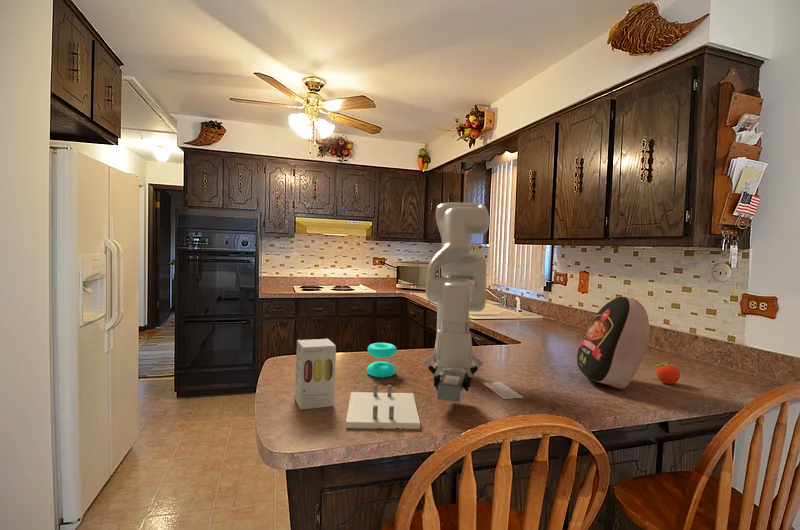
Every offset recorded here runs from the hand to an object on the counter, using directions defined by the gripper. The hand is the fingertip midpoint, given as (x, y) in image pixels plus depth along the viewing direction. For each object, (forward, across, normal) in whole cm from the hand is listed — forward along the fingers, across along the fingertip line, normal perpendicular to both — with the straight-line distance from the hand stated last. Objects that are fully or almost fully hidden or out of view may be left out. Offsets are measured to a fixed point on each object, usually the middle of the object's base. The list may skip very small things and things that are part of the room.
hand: (451, 388), depth 114 cm
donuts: (+6, +19, -28) cm, 34 cm away
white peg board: (+5, +19, +4) cm, 20 cm away
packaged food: (+7, -59, -23) cm, 63 cm away
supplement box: (+5, +38, -2) cm, 39 cm away
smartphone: (+6, -19, -14) cm, 24 cm away
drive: (+1, 0, 0) cm, 1 cm away
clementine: (+7, -80, -24) cm, 84 cm away
